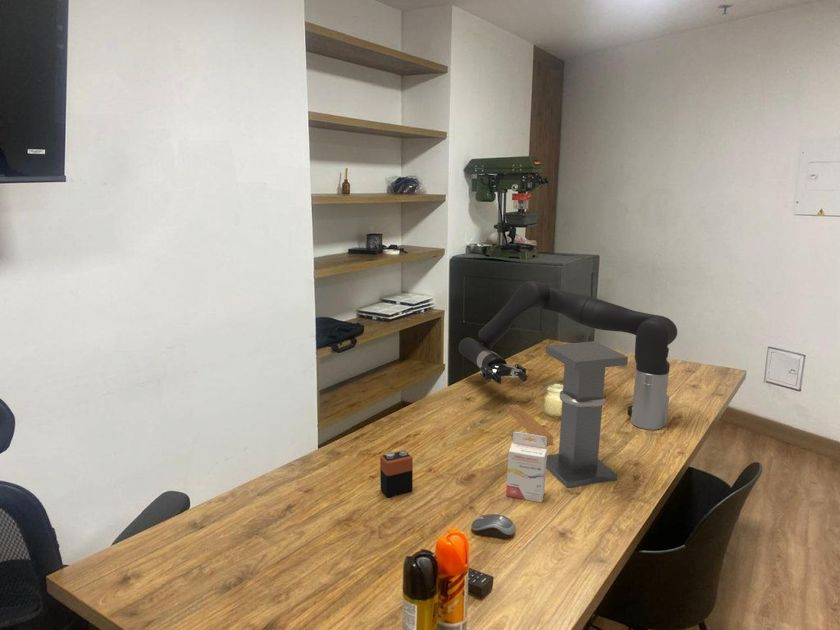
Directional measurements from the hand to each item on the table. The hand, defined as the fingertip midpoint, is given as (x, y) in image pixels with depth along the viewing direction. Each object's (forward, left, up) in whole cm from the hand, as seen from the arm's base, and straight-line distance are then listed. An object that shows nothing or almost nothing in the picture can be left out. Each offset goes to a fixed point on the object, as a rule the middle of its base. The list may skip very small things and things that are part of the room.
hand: (512, 379), depth 183 cm
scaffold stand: (-1, +38, -12) cm, 40 cm away
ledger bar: (-1, +11, -12) cm, 16 cm away
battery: (+46, +35, -12) cm, 59 cm away
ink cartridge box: (+17, +45, -12) cm, 50 cm away
